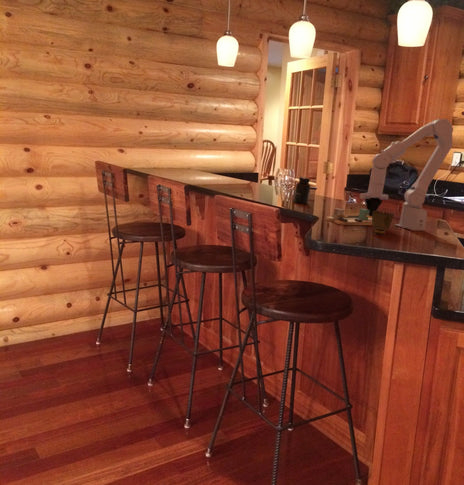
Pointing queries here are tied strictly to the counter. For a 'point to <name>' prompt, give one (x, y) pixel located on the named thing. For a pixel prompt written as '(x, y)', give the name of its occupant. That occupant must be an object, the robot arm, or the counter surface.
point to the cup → (381, 221)
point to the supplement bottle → (302, 191)
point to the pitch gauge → (347, 219)
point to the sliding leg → (364, 214)
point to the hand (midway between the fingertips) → (370, 216)
